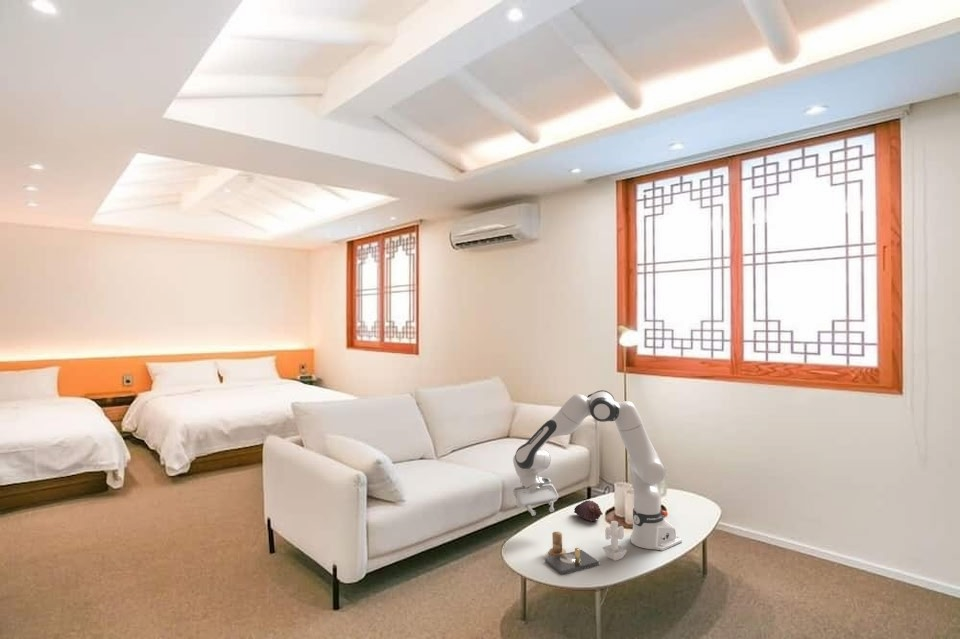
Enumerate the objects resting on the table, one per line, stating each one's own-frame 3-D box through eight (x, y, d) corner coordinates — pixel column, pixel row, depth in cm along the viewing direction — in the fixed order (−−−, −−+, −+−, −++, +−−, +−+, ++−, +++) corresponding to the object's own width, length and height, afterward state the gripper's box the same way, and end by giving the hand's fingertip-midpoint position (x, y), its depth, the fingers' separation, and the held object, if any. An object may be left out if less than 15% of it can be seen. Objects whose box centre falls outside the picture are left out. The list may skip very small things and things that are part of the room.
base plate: (581, 553, 224) (581, 549, 224) (599, 565, 214) (598, 561, 213) (545, 562, 217) (544, 558, 217) (561, 574, 206) (561, 570, 206)
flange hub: (559, 548, 229) (559, 529, 229) (569, 555, 223) (568, 534, 223) (546, 551, 226) (545, 532, 226) (555, 558, 220) (554, 538, 220)
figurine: (613, 551, 226) (612, 516, 226) (629, 559, 218) (628, 523, 217) (600, 555, 222) (599, 519, 222) (616, 564, 214) (615, 527, 214)
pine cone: (567, 517, 264) (570, 497, 269) (580, 523, 268) (583, 503, 273) (594, 518, 250) (596, 496, 255) (608, 524, 255) (610, 503, 260)
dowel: (578, 562, 213) (577, 547, 213) (581, 564, 211) (580, 549, 211) (573, 563, 212) (573, 548, 212) (576, 565, 210) (576, 550, 210)
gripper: (514, 484, 237) (525, 513, 228) (552, 478, 246) (565, 505, 237) (509, 491, 241) (520, 520, 232) (547, 485, 250) (559, 512, 241)
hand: (543, 513), depth 235 cm, fingers open, 8 cm apart
